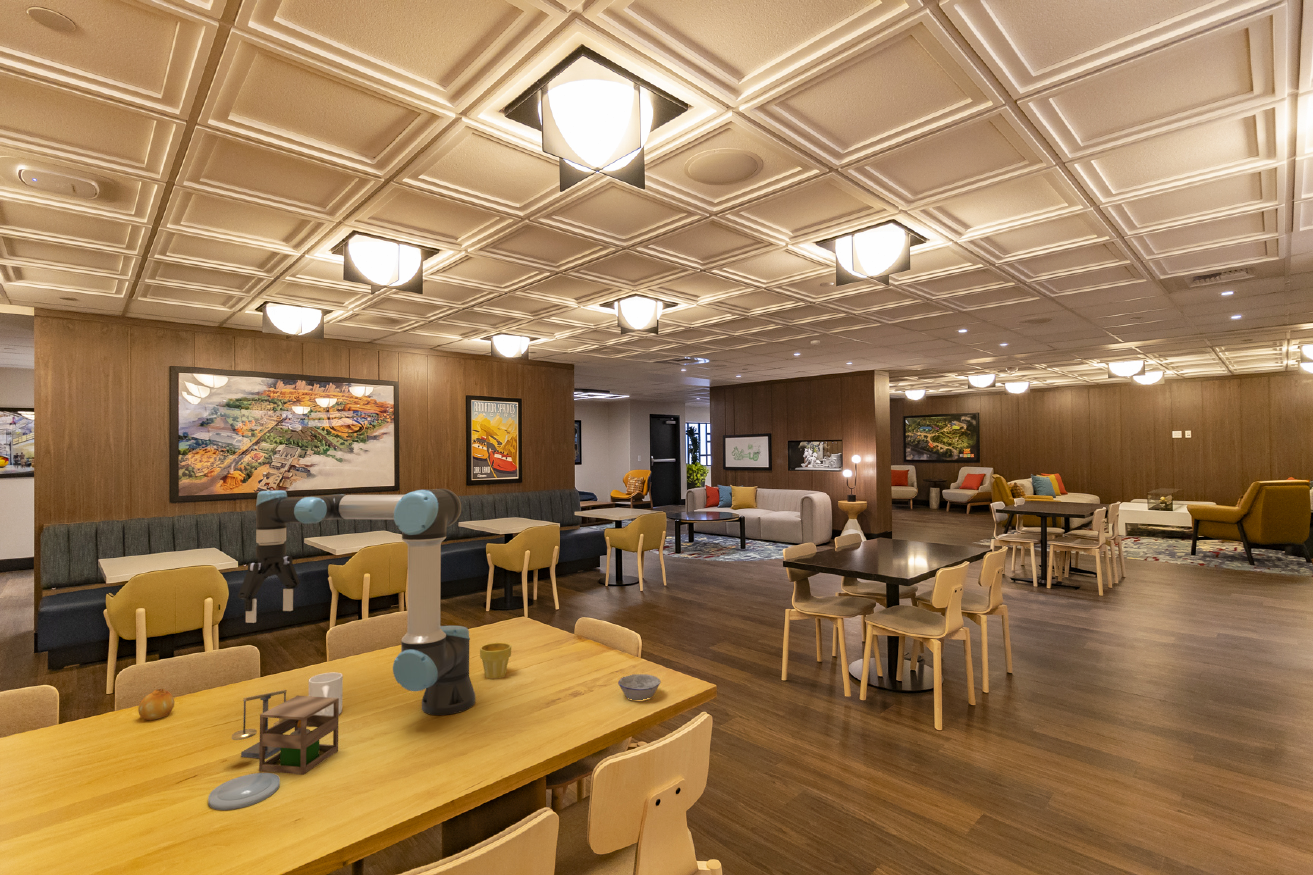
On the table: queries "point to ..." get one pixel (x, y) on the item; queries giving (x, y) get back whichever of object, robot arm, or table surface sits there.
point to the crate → (303, 711)
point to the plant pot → (495, 659)
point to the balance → (247, 733)
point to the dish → (243, 791)
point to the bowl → (639, 686)
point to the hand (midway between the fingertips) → (270, 616)
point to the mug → (327, 689)
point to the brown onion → (156, 705)
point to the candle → (298, 751)
